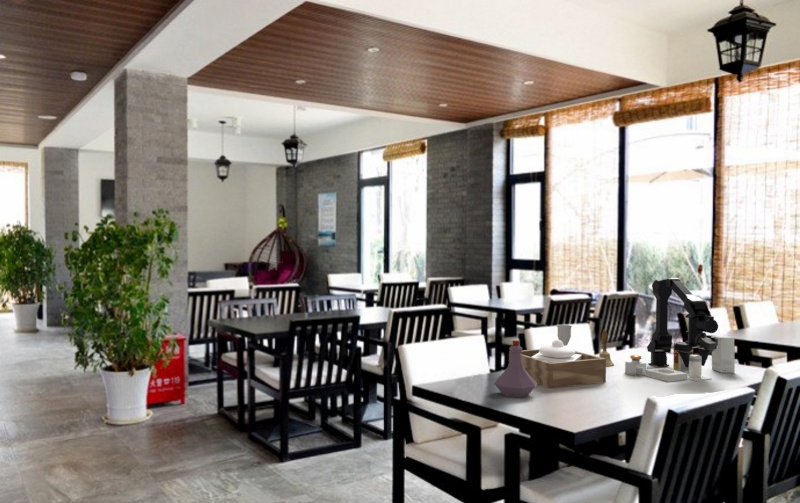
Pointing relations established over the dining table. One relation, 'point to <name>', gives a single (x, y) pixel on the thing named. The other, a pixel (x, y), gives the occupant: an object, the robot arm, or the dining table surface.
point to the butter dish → (557, 353)
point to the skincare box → (723, 354)
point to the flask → (515, 376)
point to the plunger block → (635, 368)
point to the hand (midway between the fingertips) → (695, 366)
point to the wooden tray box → (564, 370)
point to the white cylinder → (695, 366)
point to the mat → (698, 378)
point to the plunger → (635, 358)
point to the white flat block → (666, 374)
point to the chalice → (564, 333)
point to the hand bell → (605, 350)
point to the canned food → (679, 361)
